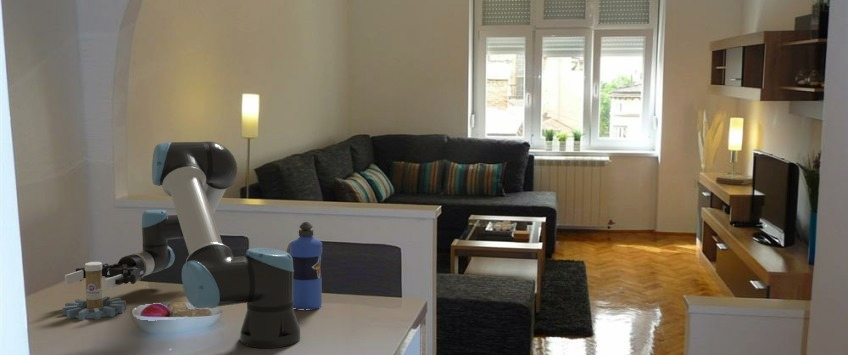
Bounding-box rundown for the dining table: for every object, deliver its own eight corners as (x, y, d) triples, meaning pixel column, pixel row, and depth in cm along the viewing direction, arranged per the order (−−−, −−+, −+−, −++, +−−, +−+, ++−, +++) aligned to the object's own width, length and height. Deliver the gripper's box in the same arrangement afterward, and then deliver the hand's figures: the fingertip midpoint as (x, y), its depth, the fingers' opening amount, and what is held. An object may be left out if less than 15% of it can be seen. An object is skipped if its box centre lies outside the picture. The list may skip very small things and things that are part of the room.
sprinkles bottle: (85, 312, 224) (83, 265, 223) (87, 307, 229) (85, 261, 227) (103, 311, 226) (101, 264, 224) (104, 306, 230) (102, 260, 228)
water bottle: (325, 302, 240) (325, 220, 237) (317, 311, 231) (318, 226, 228) (294, 301, 241) (294, 219, 238) (286, 310, 232) (286, 224, 229)
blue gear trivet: (110, 321, 218) (110, 313, 218) (51, 319, 219) (51, 311, 219) (135, 304, 235) (135, 297, 235) (80, 302, 236) (80, 295, 235)
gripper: (170, 282, 240) (123, 299, 220) (101, 274, 247) (50, 291, 227) (170, 257, 239) (122, 272, 219) (100, 250, 246) (49, 265, 226)
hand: (85, 282), depth 223 cm, fingers open, 13 cm apart
